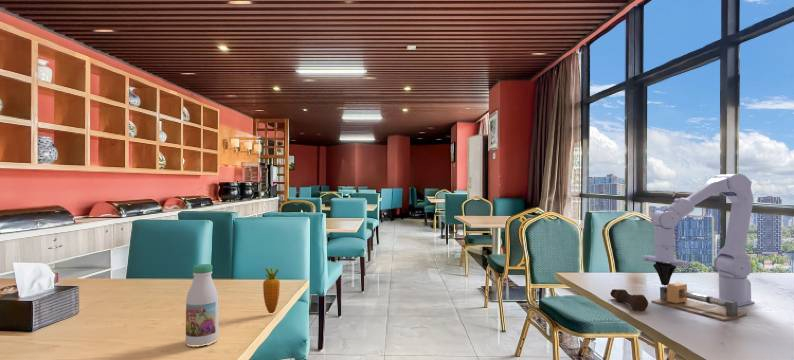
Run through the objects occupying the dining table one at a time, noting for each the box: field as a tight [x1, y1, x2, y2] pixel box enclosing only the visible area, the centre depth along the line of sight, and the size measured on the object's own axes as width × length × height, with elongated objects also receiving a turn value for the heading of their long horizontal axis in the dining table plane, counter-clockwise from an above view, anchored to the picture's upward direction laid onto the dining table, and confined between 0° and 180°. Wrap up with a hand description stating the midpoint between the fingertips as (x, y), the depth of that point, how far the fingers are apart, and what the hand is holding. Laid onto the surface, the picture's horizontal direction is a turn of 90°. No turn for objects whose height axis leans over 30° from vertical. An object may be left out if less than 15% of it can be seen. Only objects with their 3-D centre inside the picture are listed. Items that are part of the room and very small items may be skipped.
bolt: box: [610, 288, 649, 312], centre depth 139 cm, size 6×5×15 cm
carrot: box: [262, 266, 281, 314], centre depth 129 cm, size 5×5×15 cm
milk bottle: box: [185, 263, 220, 345], centre depth 107 cm, size 8×8×20 cm
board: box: [650, 298, 748, 322], centre depth 134 cm, size 22×12×1 cm, turn 25°
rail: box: [659, 285, 739, 317], centre depth 134 cm, size 22×3×5 cm, turn 25°
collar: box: [666, 282, 688, 303], centre depth 139 cm, size 3×6×6 cm, turn 115°
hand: (665, 284), depth 143 cm, fingers closed
